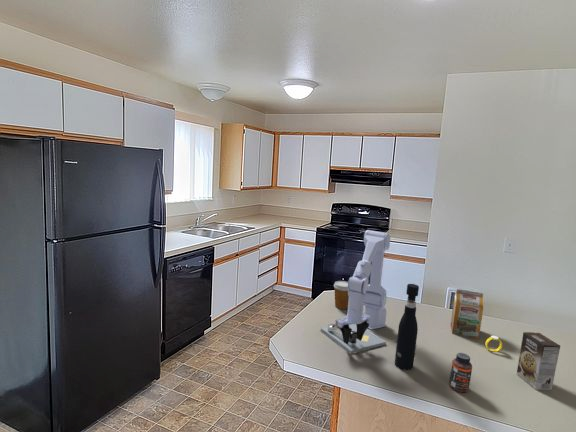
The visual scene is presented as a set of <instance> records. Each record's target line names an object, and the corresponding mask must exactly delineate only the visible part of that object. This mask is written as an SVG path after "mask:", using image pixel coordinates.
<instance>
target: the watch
mask: <svg viewBox="0 0 576 432" xmlns="http://www.w3.org/2000/svg"><path fill="white" fill-rule="evenodd" d="M490 341H499V345H498V347H496V348H495V349H493V348H489V346H488V345H489V343H490ZM484 344H485V347H486V349H487V350H488V351H489V352H496V353H498V352H500V351H501V350H502V348H503V342H502V340H501V339H500V338H499V336H497V335H490V337H488V338H487V339H486V341H485V343H484Z"/></svg>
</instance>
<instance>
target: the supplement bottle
mask: <svg viewBox="0 0 576 432" xmlns="http://www.w3.org/2000/svg"><path fill="white" fill-rule="evenodd" d="M472 370H473V364H472V363H471V356H470V355H469V354H467V353H464V352H457V353H456V356H455V358H453V359H452V362H451V367H450V374H449V380H448V381H449V382H448V385H449V387H450V388H451V389H453V390H454V391H456V392H459V393H467V392H469V389H470V384H471V379H472Z"/></svg>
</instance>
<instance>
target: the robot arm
mask: <svg viewBox="0 0 576 432" xmlns="http://www.w3.org/2000/svg"><path fill="white" fill-rule="evenodd" d="M363 243H364V246H365V248H364V252H363V256H362V260H359V261H358V262H357V264H356V267H355V270H354V272H353V275H352V276H350V277H349V279H348V281H347V282H348V295H349V302H348V308H347V314H346V316H345V317H344V318H341V319H342V320H339V321H338V326H339V327H340V329H341V332H342V336H343V342H344V343H346V344H348V343H349V336H350V333H351V331H352V329H351V328H349V325H351V324H356V325H357V339H358V340H360V341H361V340H362V337H363V335H364V333H365V331H366V329H367V330H368V329H369V330H376V329H379V328H384V327H387V324H386V321H387V319H386V318H387V308H386V304H387V297H388V296H387V289H386V288H384V287H383V286H382V276H383V275H382V274H383V266H384V257H385V256H384V255H385V252H386V251H389V249H390V243H391V234H390V233H389V232H384V231H376V230H370V229H367V230H366V231H365V232H364V234H363ZM369 278H370V279H369ZM363 312H364V314H363Z"/></svg>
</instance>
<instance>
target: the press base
mask: <svg viewBox="0 0 576 432" xmlns="http://www.w3.org/2000/svg"><path fill="white" fill-rule="evenodd" d="M342 319H343V318H339V319H336V320H335V324H334V325H337V329H339V330H340V331H341V329H340V327H339V326H338V321H339V320H342ZM349 328H351V329H352V331H355V332H357V325H356V324H351V325H349ZM327 329H328V326H324V327H320V332H322V333H323V334H324V335H326V336H327V337H328V338H329V339H331V340H332V341H333V342H334V343H336V344H337V345H338V346H340V347H341V348H342V349H343V350H345V351H346V352H347V353H348V354H350V355H351V354H355V353H359V352H363V351H367V350H370V349H374V348H378V347H382V346H386V344H387V340H384V339H383V338H382V337H380V336H377V335H376V334H374V333H373V332H371V331H370V330H368V328H367V329H366V331H365V333H364V335H363V337H362V340H361V341H360V340H358V339H357V341H356V346H352V347H351V346H350V345H349V344H346V343H344V342H343V340H342V339H340V338H339V337H338V336H336V335H335V334H334V333H332V332H329V331H328V330H327Z"/></svg>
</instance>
